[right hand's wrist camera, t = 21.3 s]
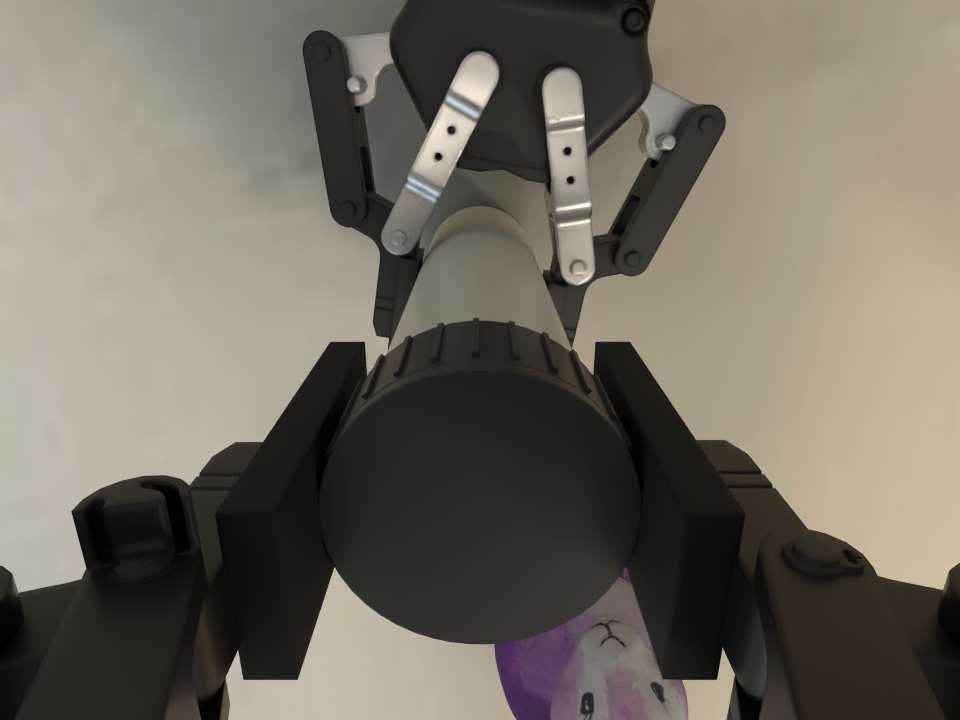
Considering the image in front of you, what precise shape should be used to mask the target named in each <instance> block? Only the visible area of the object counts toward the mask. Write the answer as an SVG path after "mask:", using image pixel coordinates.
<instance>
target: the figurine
mask: <svg viewBox="0 0 960 720" xmlns="http://www.w3.org/2000/svg"><path fill="white" fill-rule="evenodd" d="M495 657H496V663H497V668H498V672H499V676H500V680H501V683H502V687H503V690H504V693H505V696H506V699H507V702H508V704H509V707H510V709H511V711H512V713H513V714H514V716H515V718H516V719H517V720H688V701H687V696H686V692H685V688H684V684H683V682H682V680H663V679H662V676H661V673H660V670H659V667H658V664H657V661H656V658H655V654H654V651H653V648H652V645H651V642H650V639H649V636H648V633H647V630H646V627H645V624H644V621H643V618H642V615H641V611H640V608H639V605H638V602H637V599H636V596H635V593H634V590H633V587H632V584H631V581H630V578H629V575H628V572H627V568H626V567H625V568H624V570H623V572H622V573H621V575H620V577H619V578H618V579H617V580H616V582H615V583H614V584H613V585H612V587H611V588H610V589H609V590H608V592H607V593H605V594H604V595H603V596H602V597H601V598H600V599H599V600H598V601H597V602H596V603H595V604H594V605H593V606H591V607H590V608H589V609H587V610H586V611H585V612H583V613H582V614H581V615H579V616H577V617H576V618H574V619H572V620H571V621H569V622H567V623H566V624H564V625H562V626H559V627H557V628H555V629H553V630H550V631H548V632H546V633H543V634H539V635H536V636H533V637H530V638H526V639H522V640H517V641H512V642H505V643H496V644H495Z"/></svg>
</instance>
